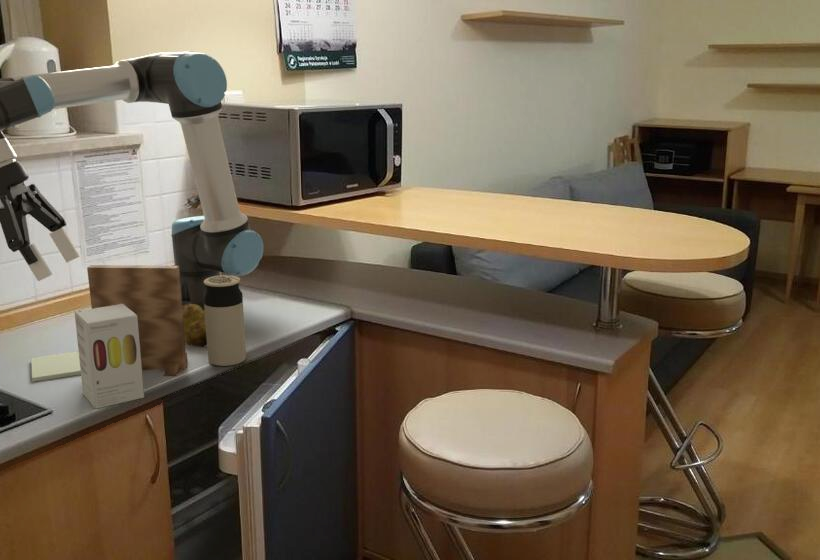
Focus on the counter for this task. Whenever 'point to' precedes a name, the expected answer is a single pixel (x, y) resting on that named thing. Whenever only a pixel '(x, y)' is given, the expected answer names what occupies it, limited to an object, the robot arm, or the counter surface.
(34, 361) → the sticky note pad
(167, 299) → the screen
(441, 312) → the counter surface
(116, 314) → the supplement box
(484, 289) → the counter surface
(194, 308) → the potato
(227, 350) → the travel mug
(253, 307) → the counter surface
